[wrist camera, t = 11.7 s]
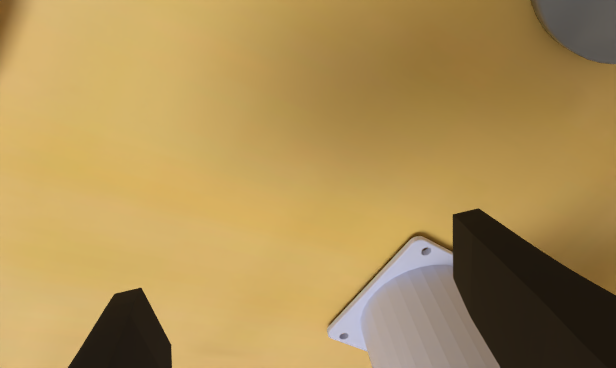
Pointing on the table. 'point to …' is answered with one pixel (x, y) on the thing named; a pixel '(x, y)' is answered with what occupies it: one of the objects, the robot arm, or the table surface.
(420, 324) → the robot arm
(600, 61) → the slate coaster
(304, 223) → the table surface
